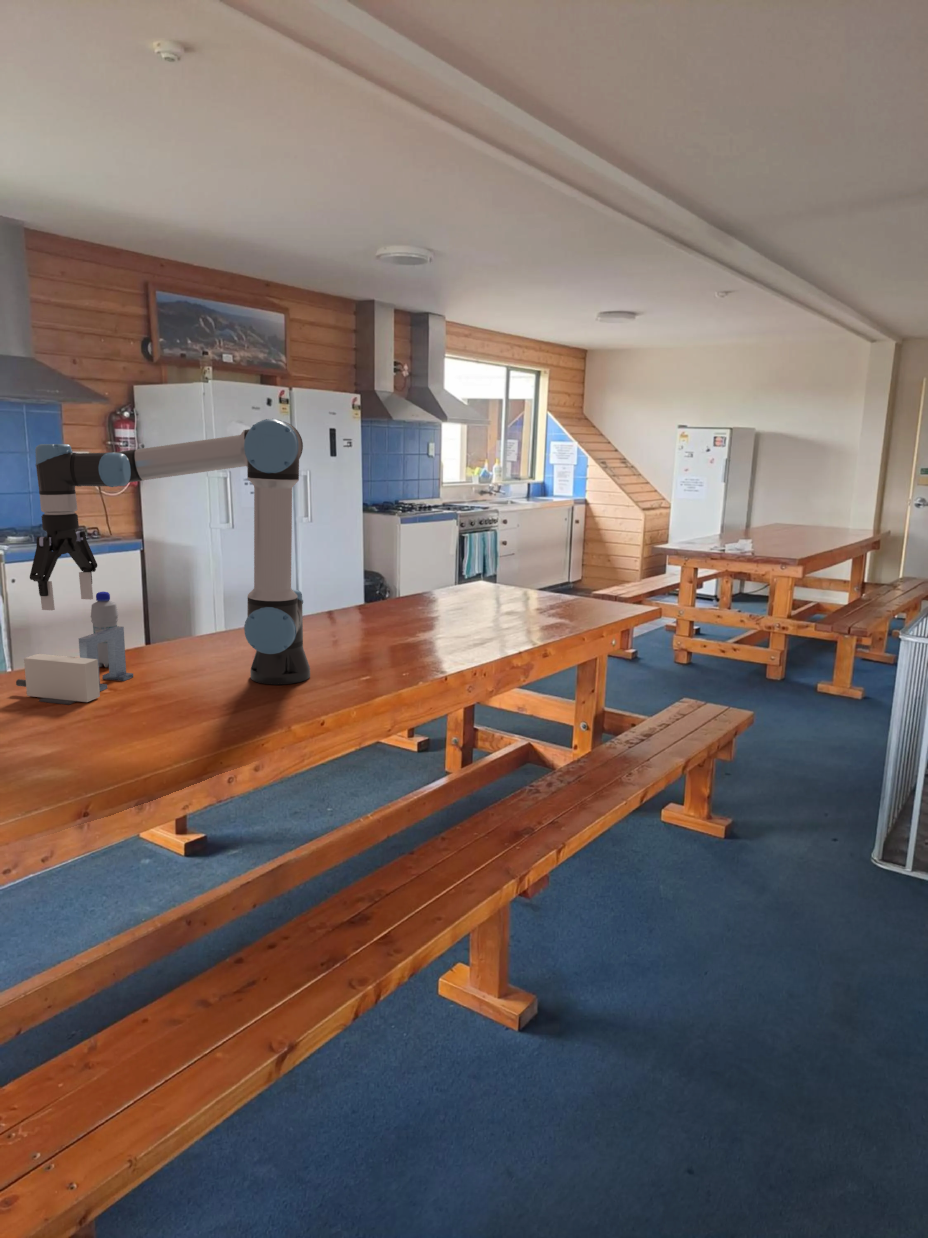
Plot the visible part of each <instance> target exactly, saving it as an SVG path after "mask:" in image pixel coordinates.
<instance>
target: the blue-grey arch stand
mask: <svg viewBox="0 0 928 1238" xmlns="http://www.w3.org/2000/svg"><path fill="white" fill-rule="evenodd" d="M104 641H107V644H108V660H109V664H108V672H107V673H105V674H102V680H107V681H117V682H119V681H120V682H126V681H128V680H130V679H132V678H134V673H132V672H127V665H126V664H127V663H126V647H125V646H126V644H125V628H124V626H119V625H117V626H116V627H112V628H109V629H106V630H103V631H100V632H97V633H94V634H93V633H91V634H88V635H84V636H81V637H79V638H78V649H79V652H78V653H79V658H89V659H98V645H97V644H98V643H101V642H104ZM98 673H99V674H100V667H99V661H98ZM100 680H101V679H100V675H99V689H100V692H102V691H104V690H107V689H108V684H107V683H101V681H100Z"/></svg>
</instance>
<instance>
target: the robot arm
mask: <svg viewBox="0 0 928 1238" xmlns="http://www.w3.org/2000/svg"><path fill="white" fill-rule="evenodd" d="M303 451H304V443H303V438H302V435H301V434H300V432H299V431H298V429H297V428H296V427H295V426H294V425H292V424H290V423H289V422H286V421H283V420H281V419H276V418H270V419H269V418H268V419H267V418H266V419H262V420H260V421H258V422H256V423H255V424H253V425H252V426H251V427H250V428H249V429H243V431H242V432H241V433H240V434H237V435H230V436H229V435H228V436H224V437H223V436H221V437H215V438H209V439H202V440H201V439H200V440H194V441H188V442H179V443H173V444H167V445H166V444H165V445H159V446H151V447H145V448H138V449H131V450H123V451H121V450H120V451H112V452H80V453H79V452H73V450H72V446H71V445H70V444H68V443H67V444H65V443H44V444H43V443H40V444H38V445H37V446H36V447H35V464H34V465H35V467H36V476H37V484H38V494H39V503H40V511H41V512H42V513H43V514H42V515H41V517H40V518H41V526H42V530H43V531H45V532H46V536H37V537H36V539H35V540H36V541H35V542H36V549H35V552H34V557H33V561H32V564H31V570H30V575H29V579H30V581H33V582H37V586H38V595H39V597H40V602H41V604H40V605H41V610H42V611H55V600H54V599H55V597H54V589H53V588H54V587H53V582H52V581H51V580H50V578H51V575H52V573H53V571H54V568H55V566H56V564H57V562H58V560H59V558H61V557H62V555H66V554H68V555H69V556H70V557H71V559H72V560H73V562H75V564H76V565H77V567H78V568H79V570H80V571H79V572H78V576H79V577H78V581H79V585H80V587H79V588H80V598H81V600H94V593H93V576H92V573H94V572H96V570H97V568H98V563H97V561H96V558H95V556H94V554H93V551H92V549H91V546H90V545H89V542H88V540H87V534H86V532H85V531H84V530H83V531H80V530H78V529H79V527H80V523H79V515H78V514H77V513H76V512H77V511H78V504H77V503H78V501H77V495H76V487H109V488H114V487H115V488H117V487H125V486H127V485H128V484H130V483H136V482H142V481H147V480H154V479H161V478H169V477H170V478H171V477H177V476H183V475H193V474H199V473H207V472H213V471H221V470H222V471H223V470H228V469H234V468H243V467H246V468H247V475H246V476H247V480H248V481H249V482H250V483H251V484H252V485H253V491H254V492H253V495H254V496H253V497H254V498H253V500H254V501H253V511H254V512H253V519H254V521H253V525H254V526H253V536H254V537H253V541H254V542H253V548H254V549H253V566H254V567H253V585H254V586H253V588H252V590H251V591H250V592H248V593H247V605H246V606H247V617H246V620H245V622H244V626H243V627H244V628H243V630H244V636H245V639H246V641H247V643H248V645H250V647H252V648H253V649H254V650H255V654H254V657H253V661H252V664H251V666H250V679H251V680H252V682H255V683H259V684H264V685H290V684H297V683H298V684H299V683H301V682H305V681H307V680H309V678H311V665H310V663H309V661H308V657H307V655H306V651H305V650H304V633H303V632H304V631H303V630H304V629H303V627H304V626H303V625H304V624H303V617H304V616H303V614H304V613H303V603H304V600H303V593H302V591H300V590H298V589H292V540H293V539H292V538H293V537H292V534H293V533H292V532H293V530H292V529H293V528H292V527H293V526H292V525H293V524H292V523H293V487H294V486H295V485H296V484H297V483H298V482H299V480H300V459H301V456H302V454H303Z"/></svg>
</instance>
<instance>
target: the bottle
mask: <svg viewBox="0 0 928 1238" xmlns="http://www.w3.org/2000/svg"><path fill="white" fill-rule="evenodd" d="M95 600H96V601H95V602H93V603H92V604H91V607H90V608H91V609H90V611H91V612H90V619H91V620H90V621H91V623H92V632H93V633H92V634H94V633H97V632H100V631H103V630H106V629H109V628H112V627H116V626H118V621H119V612H118V608H117V603H116V602H113V601H111V594H110V592H108V591H98V592H97V593H96V595H95ZM97 645H98V661H99V668H102V667H103V666H104V667H105V668H109V660H108V644H107V641H104V642H101V643H98V644H97Z"/></svg>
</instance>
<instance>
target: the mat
mask: <svg viewBox="0 0 928 1238" xmlns="http://www.w3.org/2000/svg"><path fill="white" fill-rule="evenodd" d="M39 702H41V703H49V704H60V705H72V704H74V703H76V702H78V701H72V700H62V699H53V698H43V697H41V698H39V699H38V703H39Z"/></svg>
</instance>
